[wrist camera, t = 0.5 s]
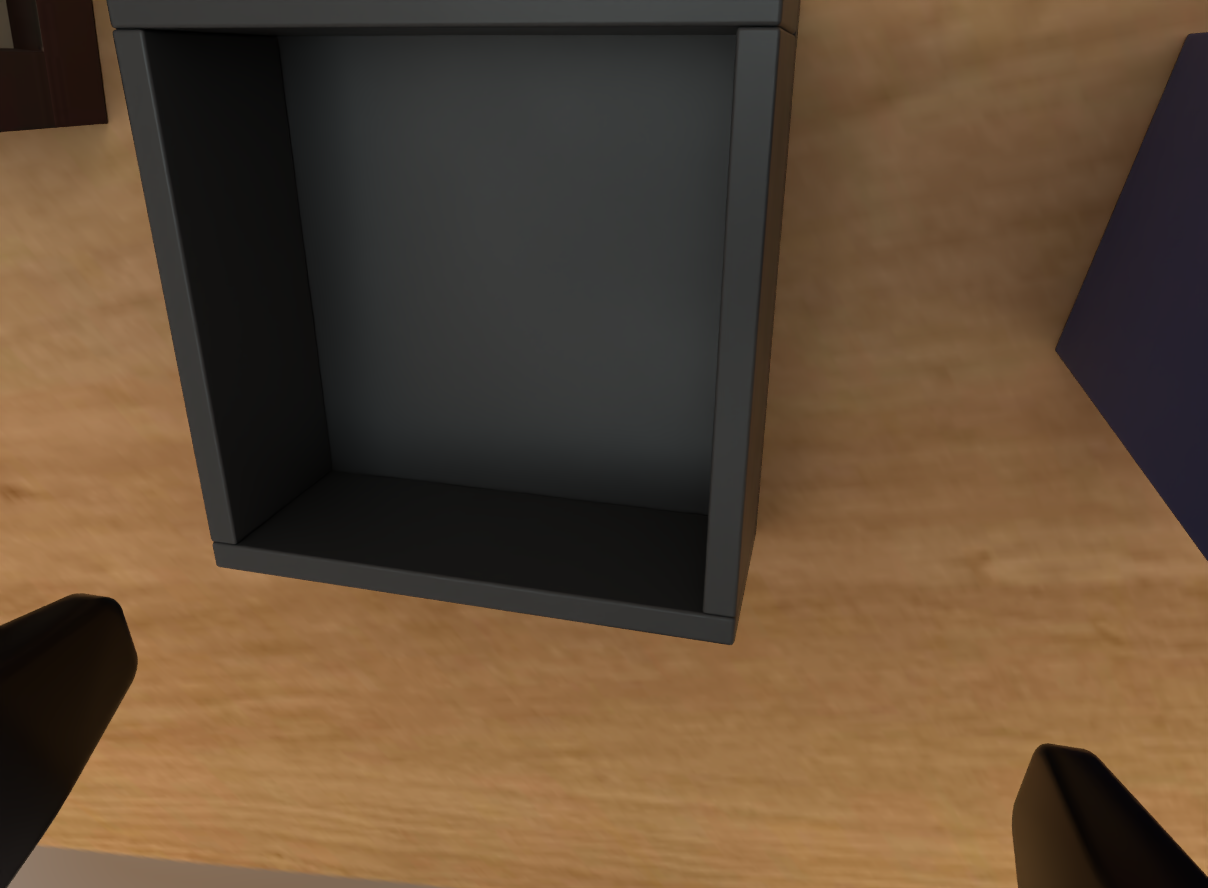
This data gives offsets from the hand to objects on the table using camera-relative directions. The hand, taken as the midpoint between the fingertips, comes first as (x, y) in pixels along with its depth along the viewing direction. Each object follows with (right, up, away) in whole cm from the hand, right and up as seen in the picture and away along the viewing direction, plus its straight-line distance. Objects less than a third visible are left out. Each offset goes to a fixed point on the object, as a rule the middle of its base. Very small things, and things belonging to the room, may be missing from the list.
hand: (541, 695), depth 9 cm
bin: (-1, +6, +13) cm, 15 cm away
